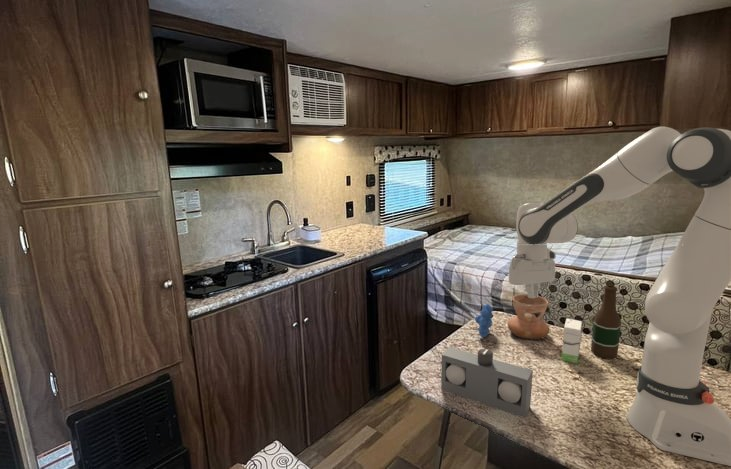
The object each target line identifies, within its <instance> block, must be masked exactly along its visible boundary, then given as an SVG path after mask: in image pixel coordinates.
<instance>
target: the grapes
mask: <svg viewBox="0 0 731 469" xmlns="http://www.w3.org/2000/svg"><path fill="white" fill-rule="evenodd" d="M492 312H494V309H493V306H492V305H490V304H489V303H487V304H485V305H484V306H482V309H481V311H480V314H478V315H476V316H475V317H474V321H475V323H477V324H478V327H477V330H478V333H479V336H480V337H481V338H482V339H484V338H486V337H487V336H488V335H489V334H490V333H491V331H490V328H491V327H492V326H493V321H492V319H493V318H494V315H493V313H492Z"/></svg>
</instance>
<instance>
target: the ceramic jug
mask: <svg viewBox="0 0 731 469" xmlns="http://www.w3.org/2000/svg"><path fill="white" fill-rule="evenodd" d="M512 304H513V308H514V311H515V313H516V315H515V316H513V317H511V318H510V319H509V320H508V322H507V327H508V330H509V331H510V332H511V333H512V334H513V335H514V336H517V337H519V338H522V339H525V340H540V339H541V340H542V339H543V338H545V337H547V336H548V335H549V333H550V327H549V325H548V324H547V322H545V321H544V320H542V318H543V317H544V314H545V313H546V311H547V308H548V306H549V301H548V300H547V299H546V298H545V297H542V296H540V295H538V297H537V298H528V293H518V294H515V295H513V296H512Z"/></svg>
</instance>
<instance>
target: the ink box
mask: <svg viewBox="0 0 731 469" xmlns="http://www.w3.org/2000/svg"><path fill="white" fill-rule="evenodd" d="M582 327H583V321H582V320H577V319H573V318H572V319H571V318H566V319H565V323H564V328H563V339H562V352H561V361H564V362H570V363H573V364H579V356H580V350H581V349H580V347H581V339H582Z"/></svg>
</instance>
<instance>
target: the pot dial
mask: <svg viewBox="0 0 731 469" xmlns="http://www.w3.org/2000/svg"><path fill="white" fill-rule="evenodd" d="M477 355H478V364H480V365H482V366H491V365H492V364H493V359H494V352H493V351H492V350H490V349H486V348H481V349H478V351H477Z"/></svg>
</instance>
